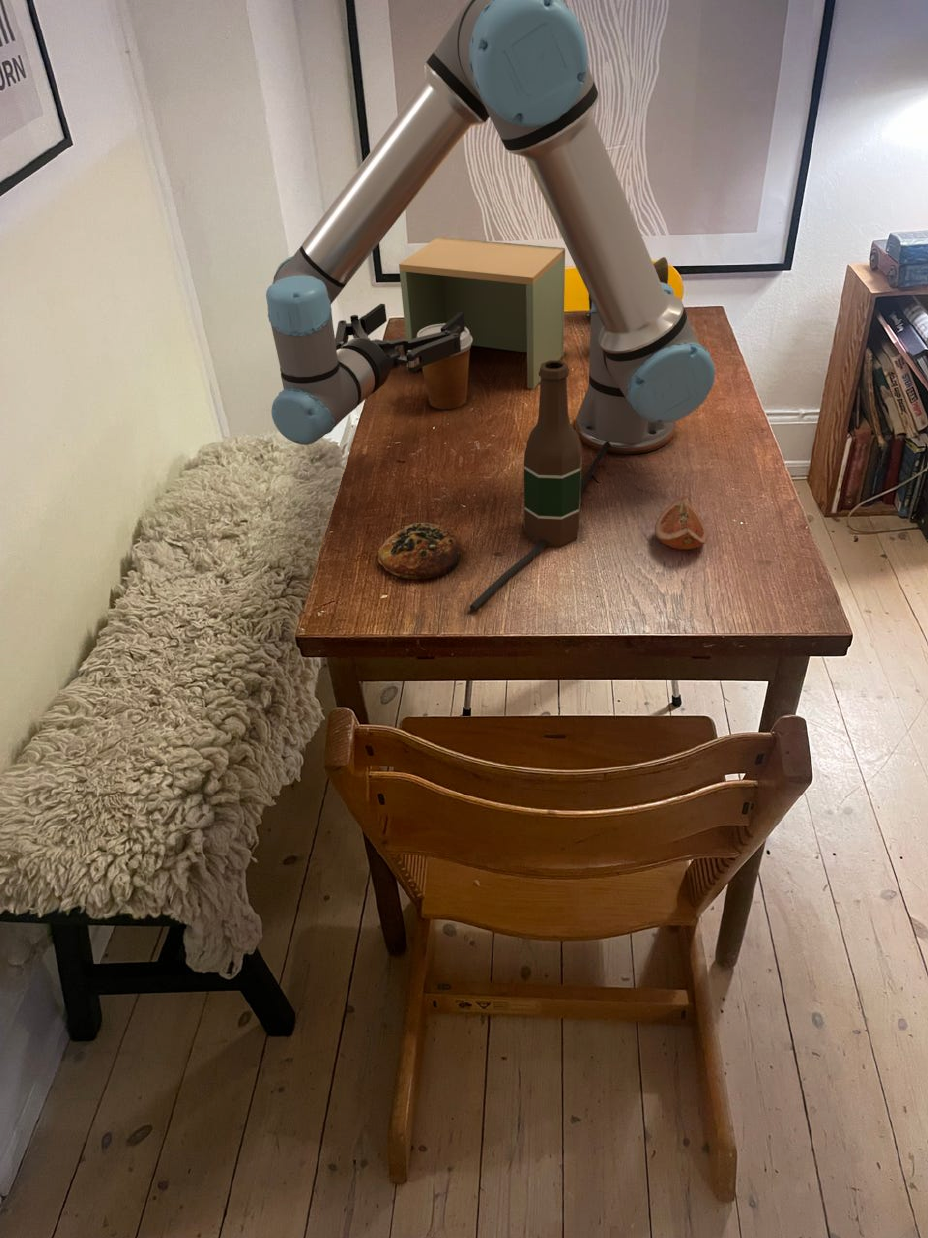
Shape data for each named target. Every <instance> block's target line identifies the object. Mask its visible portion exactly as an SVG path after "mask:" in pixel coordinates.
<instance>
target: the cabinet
mask: <svg viewBox="0 0 928 1238" xmlns="http://www.w3.org/2000/svg"><path fill="white" fill-rule="evenodd" d="M398 267H399V277H400V279H399V280H400V289H401V299H402V309H403V319H404V331H405V339H406V340H409V339H414V338H417V333H418V332H419V331H420V330H421V329H423V328H425V327H427V326H431V325H435V324H444V323H447V322H449V321H450V320H451V319H452V318H453V317H454V316H456V315H457V314H458V313H459V312H462V313H464V324H465V327H466V328H467V329H468V330H469V333H470V335H471V337H472V339H473V340H472V343H471V346H474V347H481V348H490V349H497V350H504V351H512V352H520V353H526V373H527V374H526V383H527V385H526V387H527V388H526V389H530V390H534V389H535V388H536V387H537V386H538V385H539V384H540V383H541V377H540V376H539V371H540V367H541V364H542V363H544V362H547V361H551V360H552V361H560V360H561V359H562V357H563V356H564V354H565V353H564V351H565V349H564V348H565V289H566V288H565V284H566V282H565V281H566V280H565V279H566V247H557V246H545V245H536V244H535V245H533V244H525V243H524V244H523V243H513V242H512V243H511V242H501V241H489V240H476V239H466V238H464V239H463V238H453V237H445V236H444V237H443V236H437V237H436V238H435V239H433V240H432V241H430V242H429V243H427V244H426V245H424V246H423V247H422V248H420V249H418V250H417V251H416V252H414V253H413V254H412V255H410V256H408V257H407V258H406V259H404V260H403V261H401V262H400V263H399V264H398Z"/></svg>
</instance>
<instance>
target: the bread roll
mask: <svg viewBox="0 0 928 1238" xmlns="http://www.w3.org/2000/svg"><path fill="white" fill-rule="evenodd" d="M461 554H462V548H461V544H460V543H459V540H458V539H457V537H456V536H455V535H454V534H453V532H452V531H451V530H450V529H449V528H447V527H445V526H442V525H438V524H436V523H435V524H434V523H432V522H414V523H411V524H408V525H404V526H401V529H400V530H398V531H397V532H395V533H394V534H391V536H389V537H388V538H386V540H384V542H383V544H382V545H381V547H379V549H378V551H377V555H378V558H377V560H378V563H379V565H381V566H382V567H383V568H384V569H385V570H386V571H387V572H388V573H389V574H392V575H394V576H396V577H398V578H400V579H403V580H404V579H406V580H407V579H408V580H424V579H425V580H427V579H430V578H437V577H439V576H445V575H448V574H450V573H451V572H453V571H454V570H455V569H456V568H457V567H458V565H459V562H460V560H461Z"/></svg>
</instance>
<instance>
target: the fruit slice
mask: <svg viewBox="0 0 928 1238" xmlns="http://www.w3.org/2000/svg"><path fill="white" fill-rule="evenodd" d="M654 534H655V535H656V537H657V539H658V540H659V541H660V542H661V543H662V544H664V545H666V546H669V547H670V548H672V549H677V550H692V549H697V548H700V547H702V546H703V545H705V544H706V543H707V541H708V534H707V530H706V528H705V526H704V524H703V522H702V519H701V518H700V516H699V514H698V512H696V510H695V509H694V507H693V506H692V504H691V503H690V502H689V500H687V499H686V498H685V497H684V496H681V497H679V498H678V499H677V500H675V501H673V502H672V503H670V504H669V506H667V507H666V508H665V509H664V510H663V511H662V512H661V513H660V515H659V517H658V518H657V519H656V523H655V526H654Z"/></svg>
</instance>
